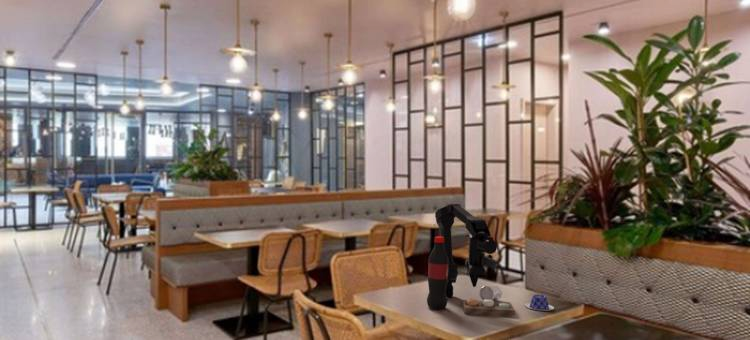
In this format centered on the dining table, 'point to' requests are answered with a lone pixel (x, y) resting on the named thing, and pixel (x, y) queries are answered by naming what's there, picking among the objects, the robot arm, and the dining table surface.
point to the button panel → (488, 309)
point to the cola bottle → (437, 275)
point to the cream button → (488, 303)
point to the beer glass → (490, 292)
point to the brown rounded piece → (472, 302)
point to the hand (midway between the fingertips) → (474, 286)
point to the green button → (504, 305)
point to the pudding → (539, 303)
